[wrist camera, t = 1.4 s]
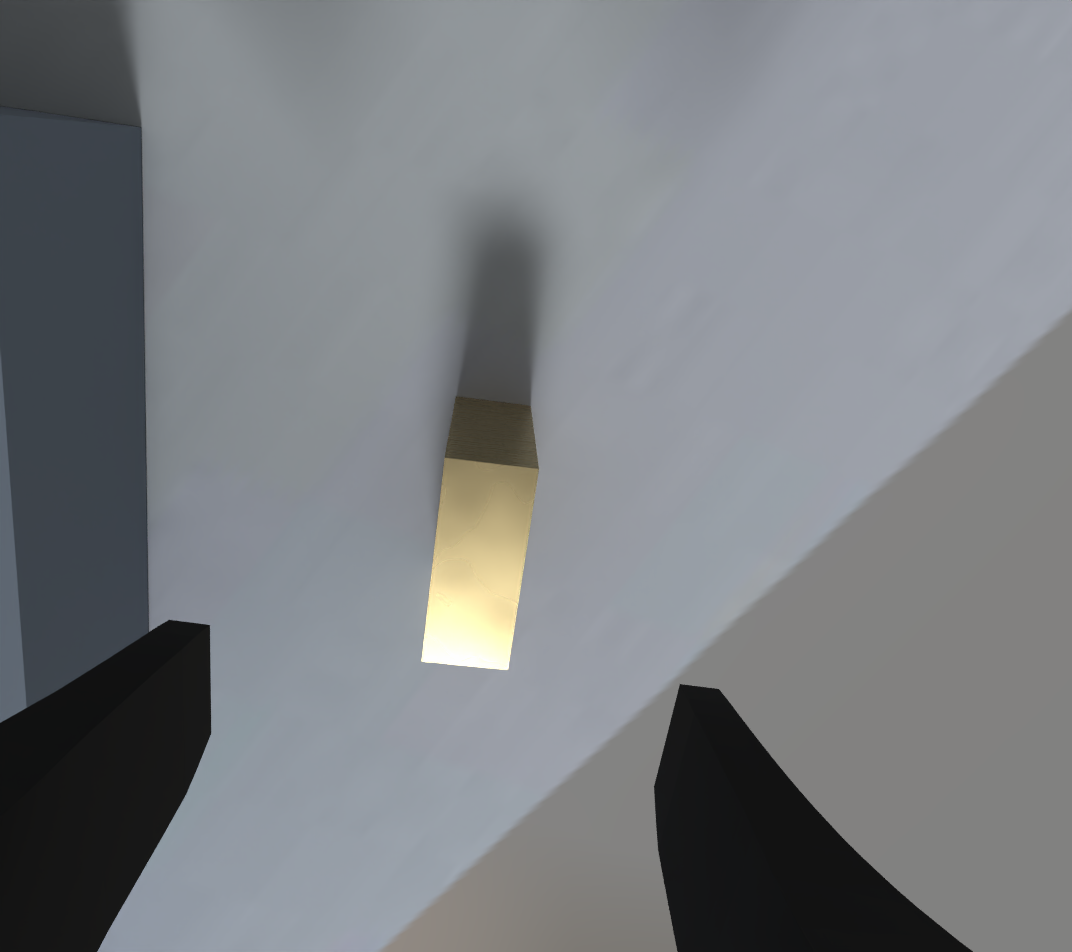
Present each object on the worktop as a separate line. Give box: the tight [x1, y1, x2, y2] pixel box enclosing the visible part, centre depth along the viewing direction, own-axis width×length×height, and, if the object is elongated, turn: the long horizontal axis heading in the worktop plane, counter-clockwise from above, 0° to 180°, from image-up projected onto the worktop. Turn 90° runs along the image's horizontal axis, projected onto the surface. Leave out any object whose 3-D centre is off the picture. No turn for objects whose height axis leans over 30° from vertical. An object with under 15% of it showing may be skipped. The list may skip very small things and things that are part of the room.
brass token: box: [422, 397, 539, 670], centre depth 21 cm, size 5×2×5 cm, turn 172°
